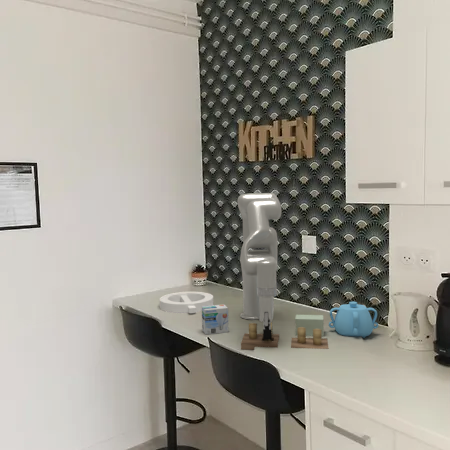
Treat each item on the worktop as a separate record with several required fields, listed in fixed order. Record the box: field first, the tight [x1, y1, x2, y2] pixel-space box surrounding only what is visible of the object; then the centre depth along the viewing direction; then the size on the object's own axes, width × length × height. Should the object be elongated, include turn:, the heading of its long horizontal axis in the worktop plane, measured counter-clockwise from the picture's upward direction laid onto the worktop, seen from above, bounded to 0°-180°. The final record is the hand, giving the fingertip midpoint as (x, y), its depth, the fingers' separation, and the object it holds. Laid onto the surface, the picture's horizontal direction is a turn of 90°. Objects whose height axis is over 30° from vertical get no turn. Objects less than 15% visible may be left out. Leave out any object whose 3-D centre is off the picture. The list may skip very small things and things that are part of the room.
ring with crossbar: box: [159, 291, 214, 314], centre depth 257 cm, size 28×28×5 cm
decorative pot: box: [328, 301, 379, 339], centre depth 202 cm, size 16×16×14 cm
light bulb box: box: [201, 304, 230, 335], centre depth 212 cm, size 11×7×11 cm, turn 106°
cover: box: [294, 314, 325, 337], centre depth 201 cm, size 7×11×8 cm, turn 80°
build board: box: [240, 322, 280, 351], centre depth 193 cm, size 12×14×8 cm
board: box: [290, 327, 330, 350], centre depth 190 cm, size 12×14×7 cm
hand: (267, 337), depth 191 cm, fingers closed on pin, 3 cm apart
